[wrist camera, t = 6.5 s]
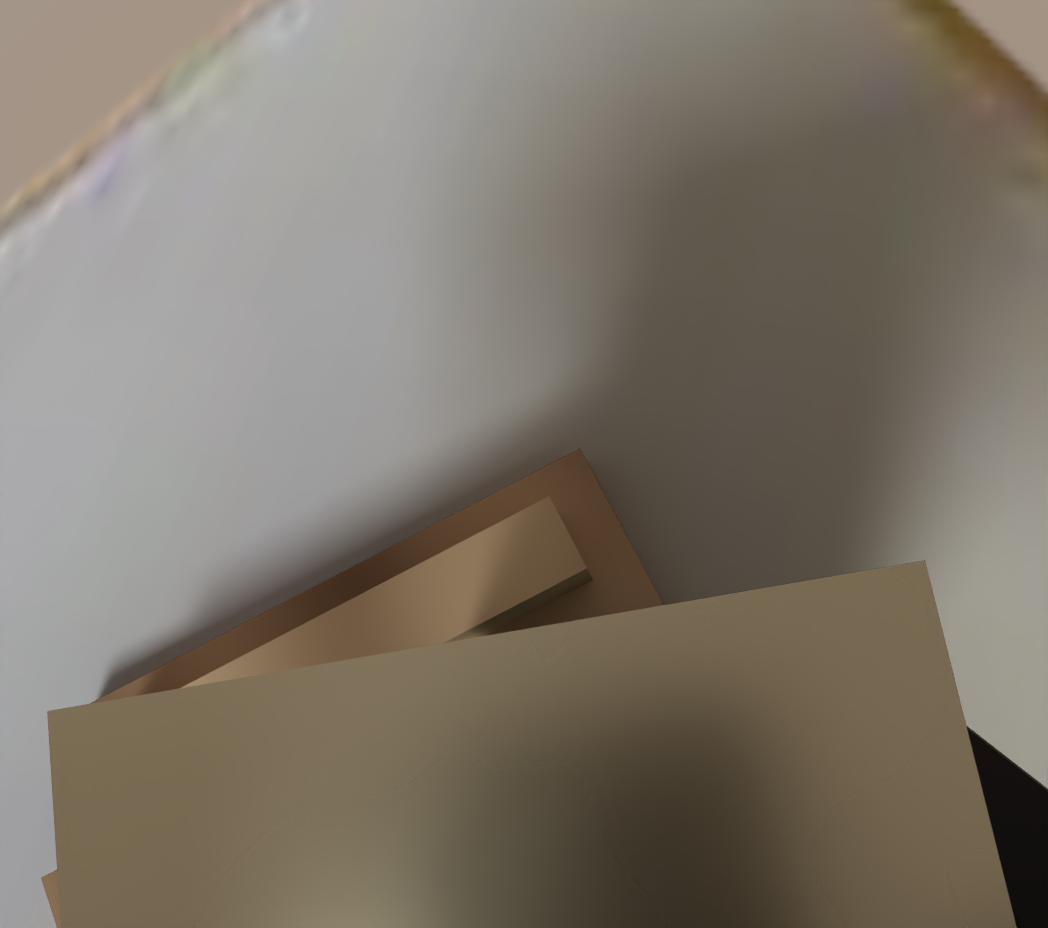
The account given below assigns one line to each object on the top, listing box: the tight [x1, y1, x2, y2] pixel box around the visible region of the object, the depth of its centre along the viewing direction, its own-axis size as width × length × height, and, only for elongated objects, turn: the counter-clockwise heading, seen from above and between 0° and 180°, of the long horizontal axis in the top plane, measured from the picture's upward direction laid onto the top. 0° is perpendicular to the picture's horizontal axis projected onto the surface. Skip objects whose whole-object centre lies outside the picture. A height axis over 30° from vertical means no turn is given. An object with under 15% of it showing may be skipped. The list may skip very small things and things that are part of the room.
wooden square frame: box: [41, 449, 664, 928], centre depth 17 cm, size 12×13×4 cm
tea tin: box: [47, 560, 1017, 928], centre depth 11 cm, size 5×5×13 cm
